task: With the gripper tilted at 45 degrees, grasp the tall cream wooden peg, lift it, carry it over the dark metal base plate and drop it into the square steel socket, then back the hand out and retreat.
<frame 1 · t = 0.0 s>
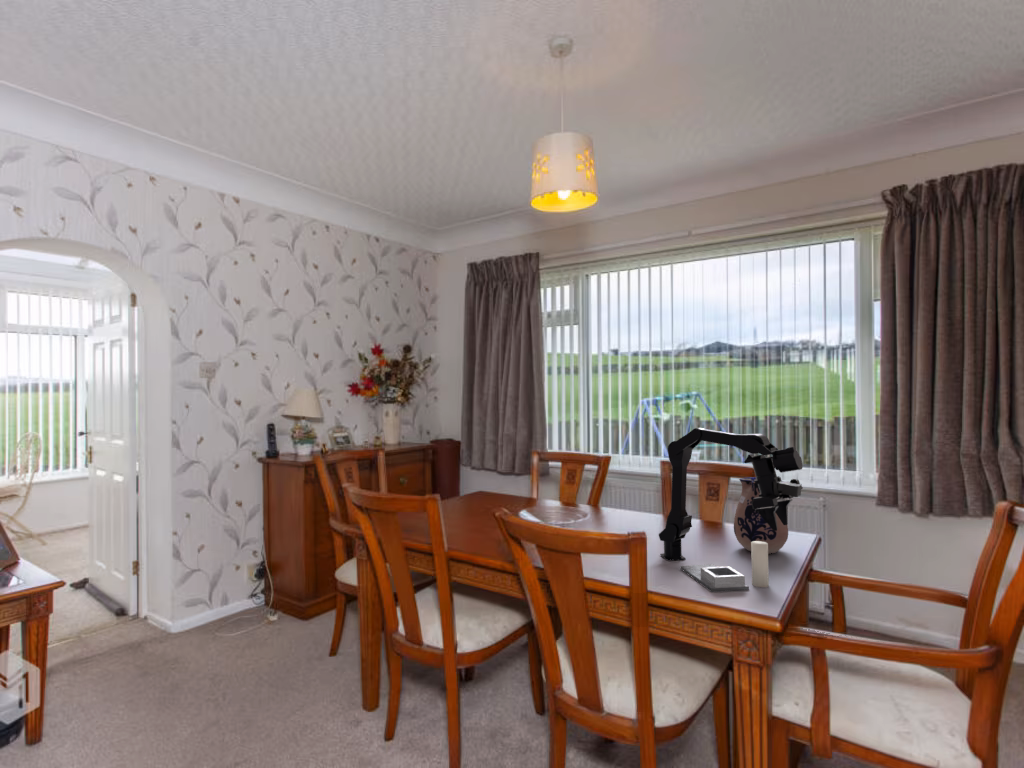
hand: (780, 527, 162), 15 cm above the table, tool pointing down, fingers open, 9 cm apart
socket: (722, 585, 158), on the table
ceramic pitcher: (761, 550, 195), on the table
peg: (760, 584, 158), on the table
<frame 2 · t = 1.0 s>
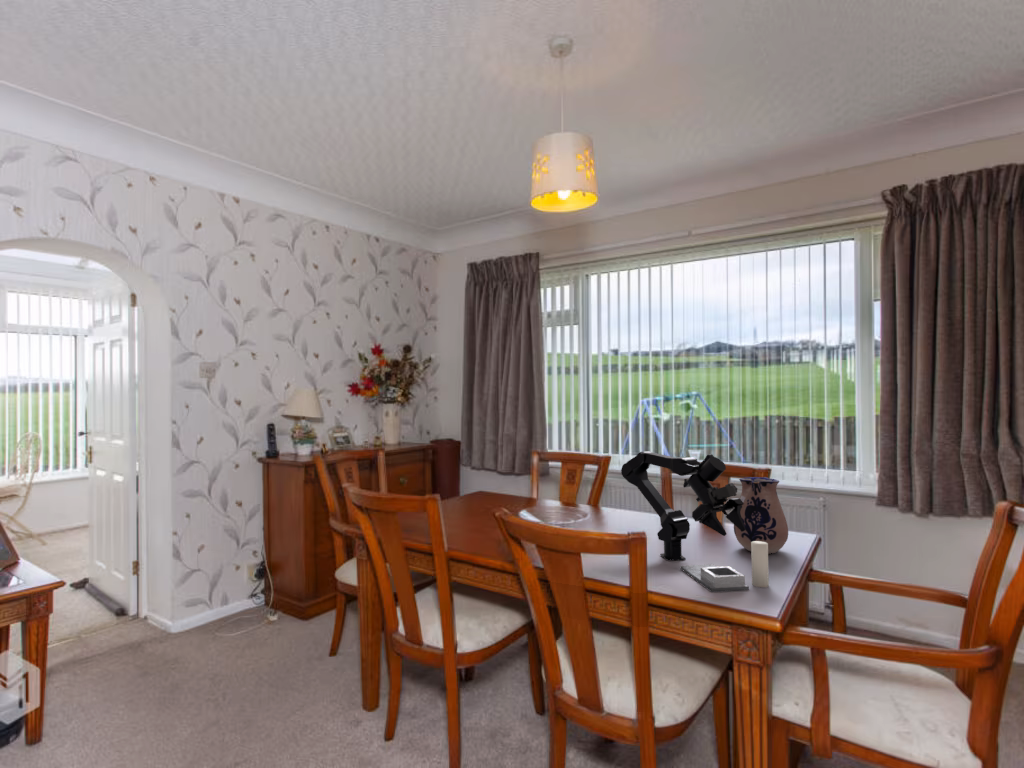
hand: (735, 532, 165), 13 cm above the table, tool tilted 45°, fingers open, 9 cm apart
nothing on the table moved.
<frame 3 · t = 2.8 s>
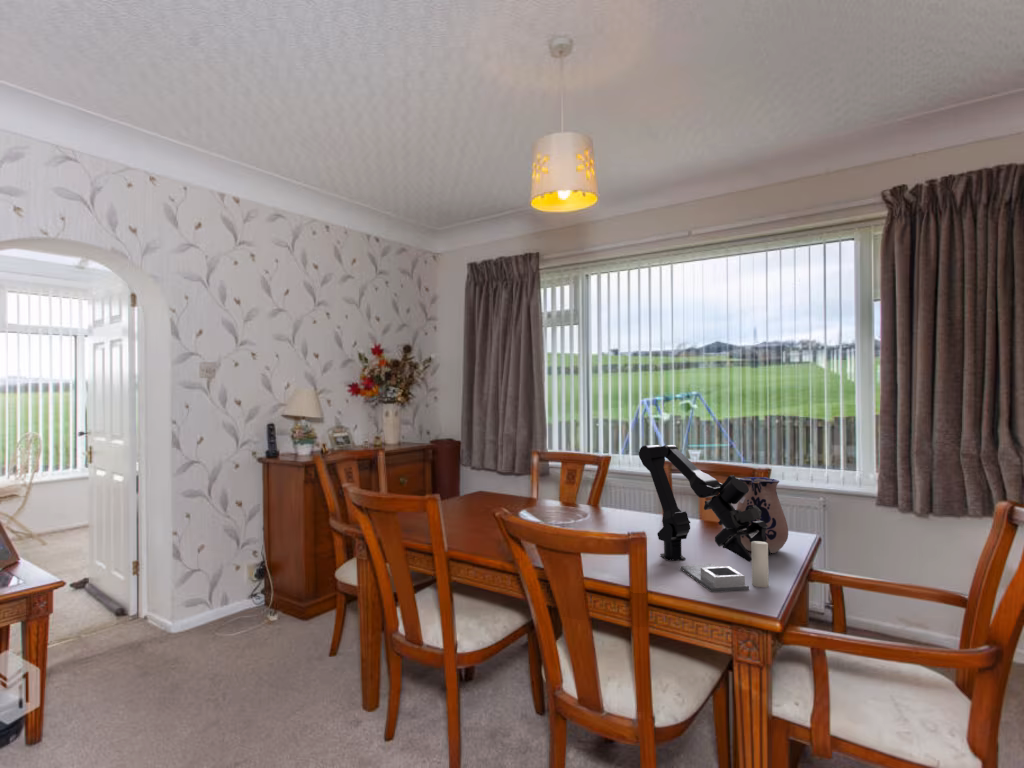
hand: (760, 558, 158), 8 cm above the table, tool tilted 45°, fingers open, 9 cm apart
nothing on the table moved.
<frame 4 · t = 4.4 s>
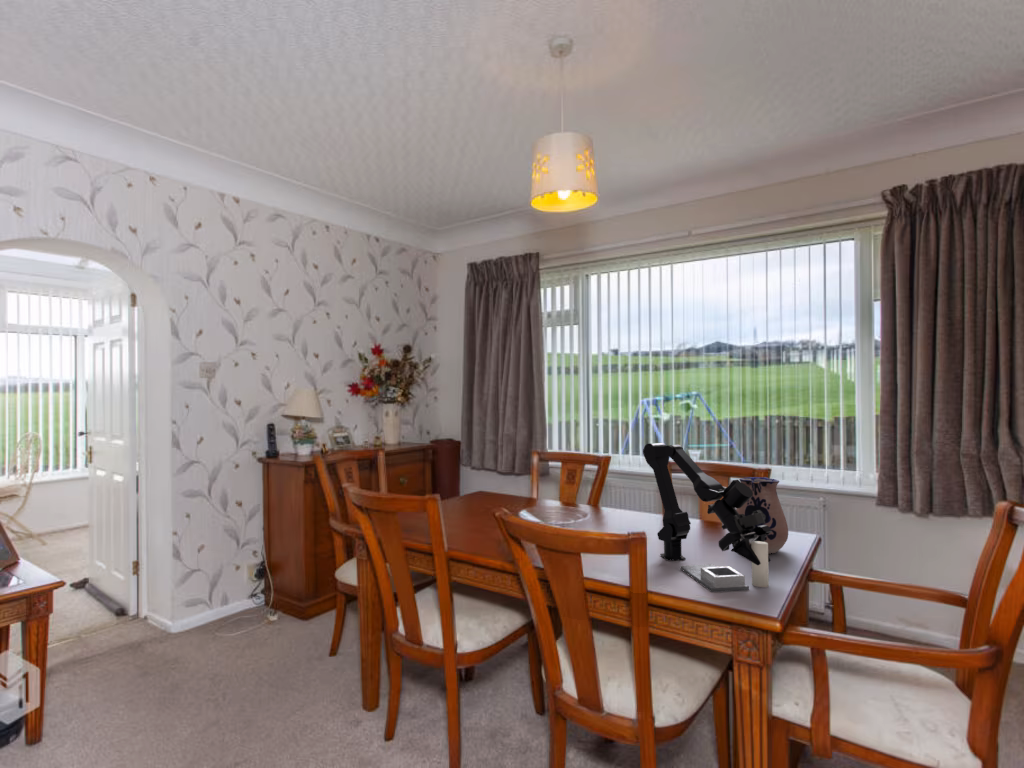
hand: (764, 563, 157), 7 cm above the table, tool tilted 45°, fingers closed on peg, 4 cm apart
peg: (760, 584, 158), on the table, touching gripper
everything else where it was.
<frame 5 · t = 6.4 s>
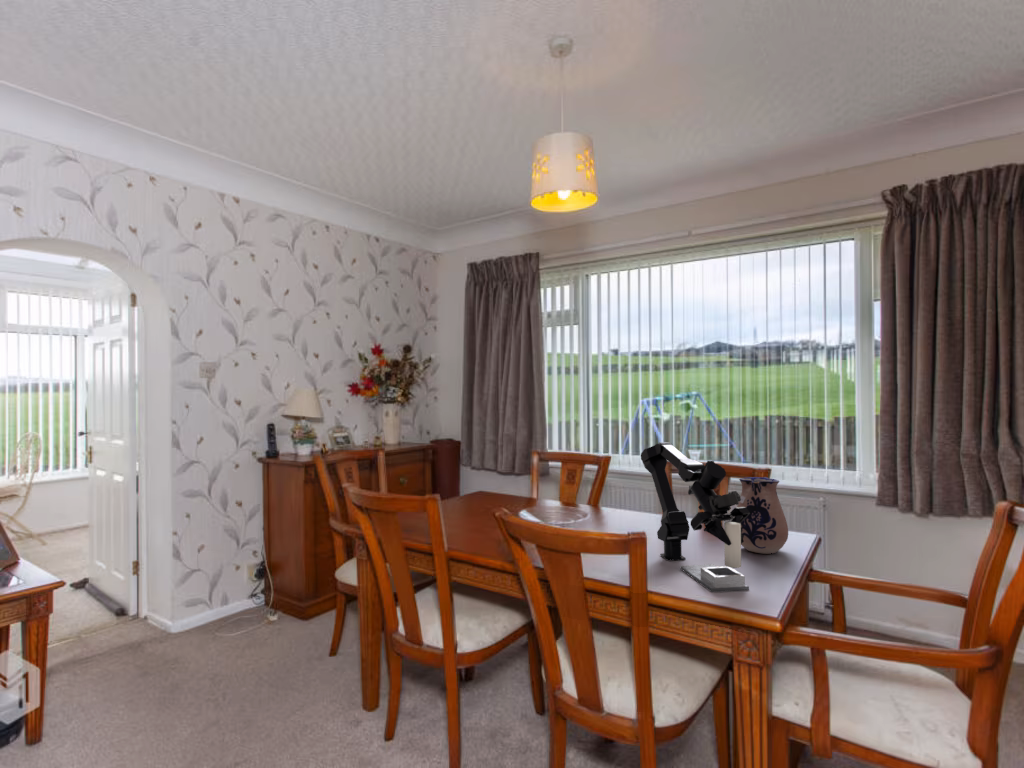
hand: (736, 543, 157), 12 cm above the table, tool tilted 45°, fingers closed on peg, 4 cm apart
peg: (732, 565, 158), point 6 cm above the table, touching gripper
everything else where it was.
when the fingers open (8 cm above the table, at t = 8.5 s): peg stays where it is, resting on socket.
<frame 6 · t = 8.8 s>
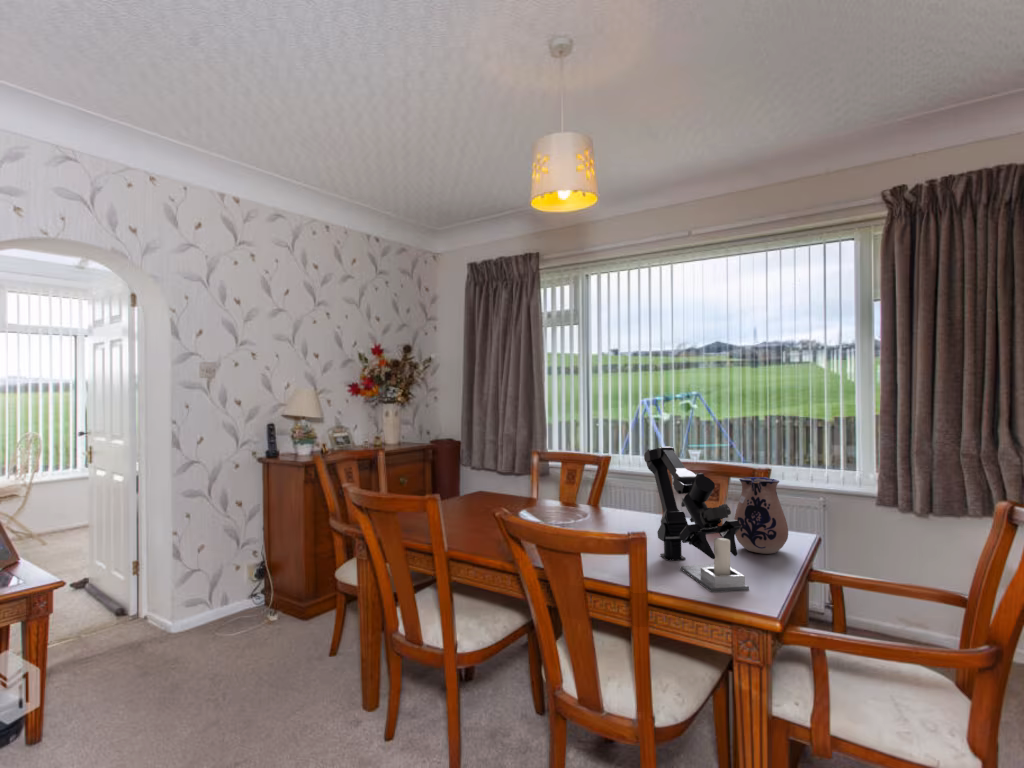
hand: (725, 556, 157), 9 cm above the table, tool tilted 45°, fingers open, 8 cm apart
peg: (722, 581, 158), point 1 cm above the table, touching socket
everything else where it was.
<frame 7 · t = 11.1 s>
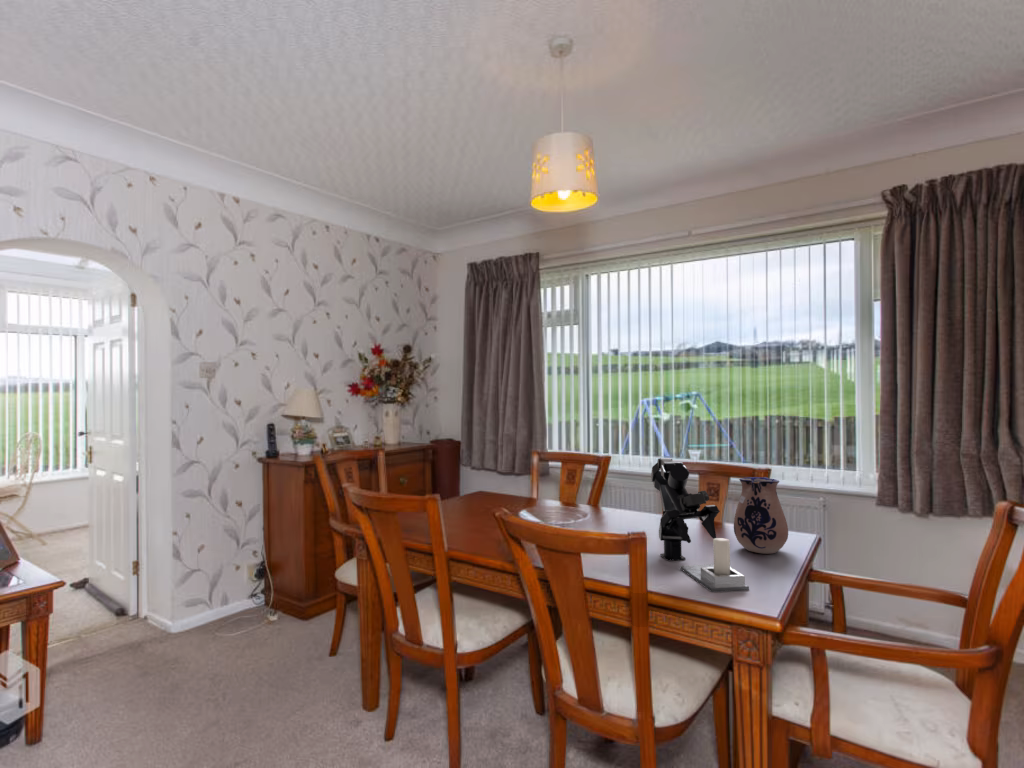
hand: (702, 540, 166), 11 cm above the table, tool tilted 40°, fingers open, 9 cm apart
nothing on the table moved.
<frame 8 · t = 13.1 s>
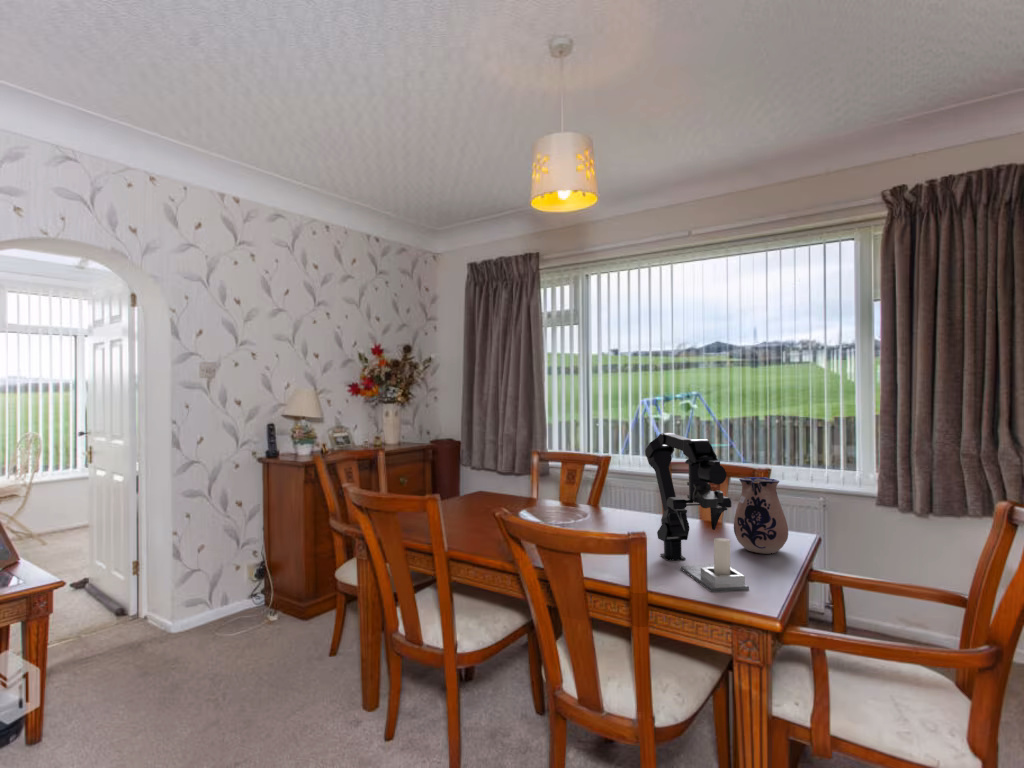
hand: (699, 530, 170), 13 cm above the table, tool pointing down, fingers open, 9 cm apart
nothing on the table moved.
at the end: peg 0.1 cm off-centre on the socket, point 1.0 cm above the socket's base; peg tilted 1°; the gripper is holding nothing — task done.
